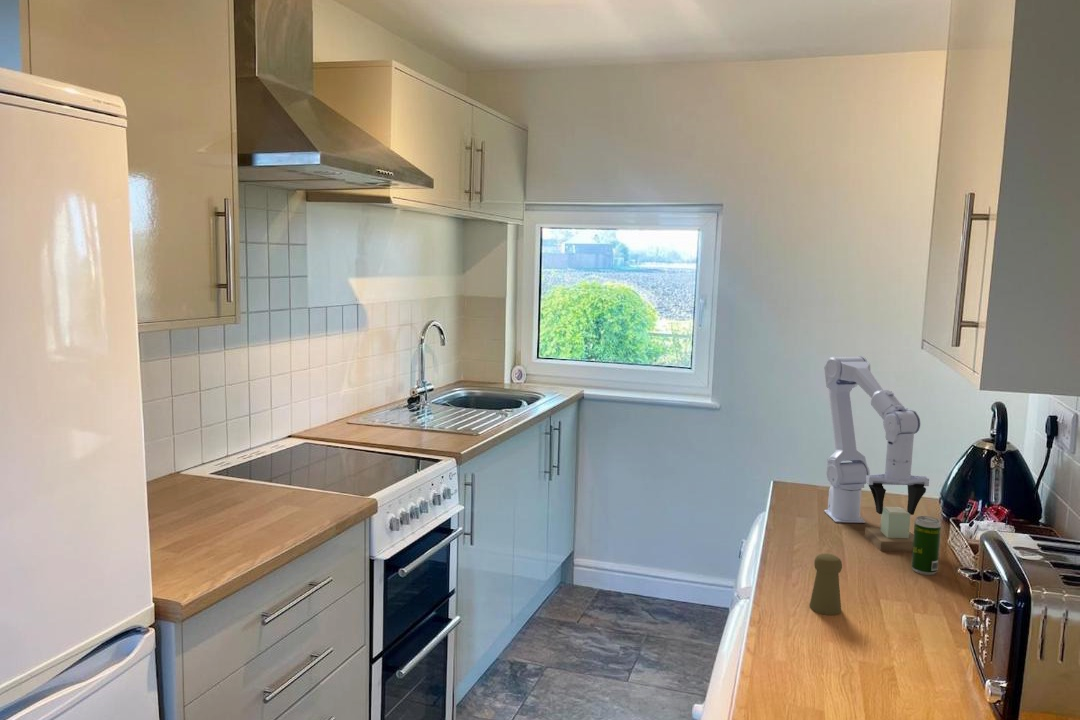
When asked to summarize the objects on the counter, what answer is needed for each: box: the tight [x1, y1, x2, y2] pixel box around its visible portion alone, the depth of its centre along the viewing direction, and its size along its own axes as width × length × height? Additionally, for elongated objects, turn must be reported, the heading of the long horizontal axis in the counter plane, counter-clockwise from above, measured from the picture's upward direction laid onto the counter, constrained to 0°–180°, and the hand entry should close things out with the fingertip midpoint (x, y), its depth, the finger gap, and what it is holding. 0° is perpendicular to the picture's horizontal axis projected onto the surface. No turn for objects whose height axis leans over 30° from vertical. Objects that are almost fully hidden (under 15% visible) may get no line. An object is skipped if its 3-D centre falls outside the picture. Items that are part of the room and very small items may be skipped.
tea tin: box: [879, 506, 911, 538], centre depth 193 cm, size 5×5×6 cm
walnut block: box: [864, 526, 914, 553], centre depth 194 cm, size 10×10×3 cm
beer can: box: [910, 515, 942, 576], centre depth 176 cm, size 5×5×12 cm
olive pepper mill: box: [809, 553, 843, 616], centre depth 156 cm, size 6×6×11 cm
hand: (894, 513), depth 193 cm, fingers open, 7 cm apart
